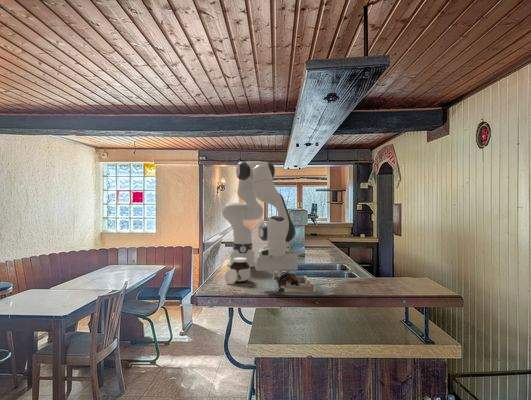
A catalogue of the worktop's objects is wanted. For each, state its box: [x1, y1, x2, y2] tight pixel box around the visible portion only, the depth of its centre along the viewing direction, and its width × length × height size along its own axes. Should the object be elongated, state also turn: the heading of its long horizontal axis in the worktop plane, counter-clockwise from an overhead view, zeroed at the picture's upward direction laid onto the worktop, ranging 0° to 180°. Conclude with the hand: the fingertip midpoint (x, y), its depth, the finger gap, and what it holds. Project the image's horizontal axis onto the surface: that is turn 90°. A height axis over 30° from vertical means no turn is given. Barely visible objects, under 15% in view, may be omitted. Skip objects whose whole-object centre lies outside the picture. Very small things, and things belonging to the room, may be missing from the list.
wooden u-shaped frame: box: [276, 275, 317, 293], centre depth 167 cm, size 20×15×3 cm
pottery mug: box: [276, 272, 300, 289], centre depth 164 cm, size 12×10×8 cm
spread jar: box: [224, 257, 251, 285], centre depth 174 cm, size 12×11×12 cm
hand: (276, 279), depth 165 cm, fingers closed
